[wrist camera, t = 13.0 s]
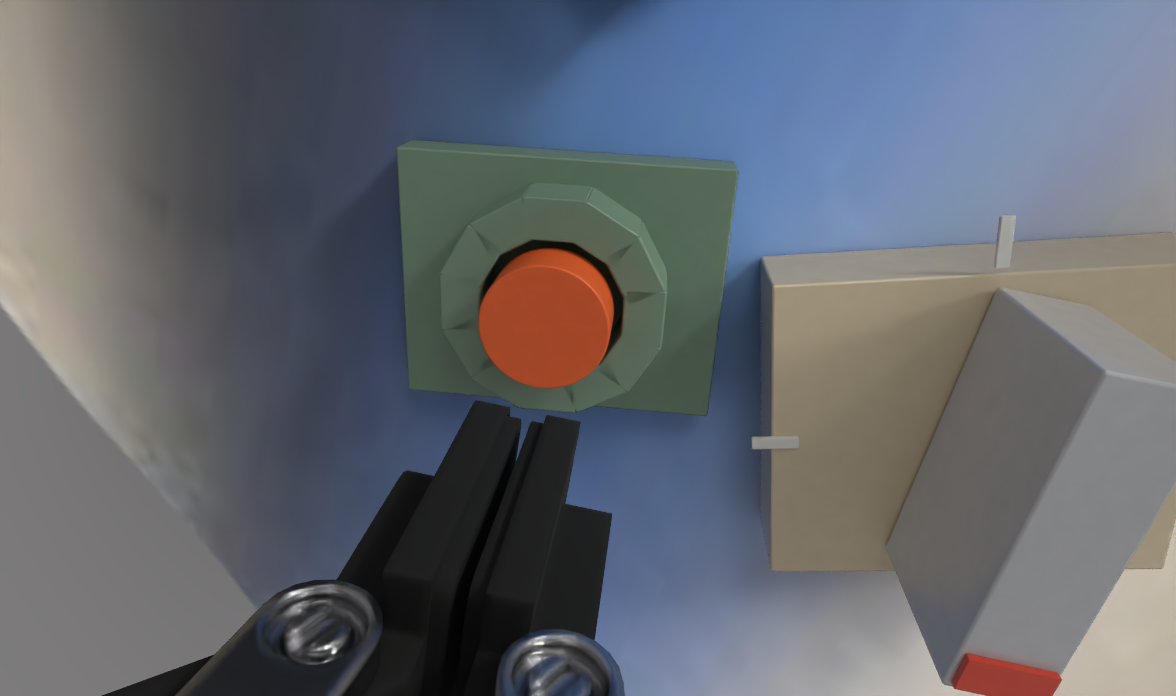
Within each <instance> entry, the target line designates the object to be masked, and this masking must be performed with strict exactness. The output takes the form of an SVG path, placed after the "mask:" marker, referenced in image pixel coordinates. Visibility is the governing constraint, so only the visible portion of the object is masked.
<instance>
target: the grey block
mask: <svg viewBox="0 0 1176 696" xmlns="http://www.w3.org/2000/svg"><path fill="white" fill-rule="evenodd" d="M1175 485H1176V362H1175V361H1173V360H1172V359H1170V358H1169V357H1167V356H1166V355H1164V354H1163V353H1161V352H1160V351H1158V350H1157V349H1155V348H1154V347H1152V346H1151V345H1149V344H1148V343H1146V342H1144V341H1143V340H1141V339H1140V338H1138V337H1137V336H1135V335H1134V334H1132V333H1131V332H1129V331H1128V330H1126V329H1125V328H1123V327H1122V326H1120V325H1119V324H1117V323H1116V322H1114V321H1113V320H1111V319H1110V318H1108V317H1107V316H1105V315H1104V314H1102V313H1101V312H1099V311H1098V310H1096V309H1095V308H1093V307H1092V306H1090V305H1085V304H1081V303H1076V302H1071V301H1066V300H1061V299H1056V298H1051V297H1046V296H1041V295H1037V294H1032V293H1027V292H1022V291H1017V290H1012V289H1007V288H1002V287H1001V288H998V289H997V290H996V292H995V295H994V297H993V299H992V302H991V304H990V306H989V309H988V311H987V313H986V316H985V318H984V320H983V323H982V325H981V327H980V330H979V332H978V334H977V336H976V339H975V341H974V343H973V346H972V348H971V350H970V353H969V355H968V357H967V360H966V362H965V364H964V367H963V369H962V371H961V374H960V376H959V378H958V381H957V383H956V385H955V387H954V390H953V392H952V394H951V397H950V399H949V401H948V404H947V406H946V408H945V411H944V413H943V415H942V418H941V420H940V422H939V425H938V427H937V429H936V432H935V434H934V436H933V439H932V441H931V443H930V445H929V448H928V450H927V452H926V455H925V457H924V459H923V462H922V464H921V466H920V469H919V471H918V473H917V476H916V478H915V480H914V483H913V485H912V487H911V490H910V492H909V494H908V496H907V499H906V501H905V503H904V506H903V508H902V510H901V513H900V515H899V517H898V520H897V522H896V524H895V527H894V529H893V531H892V534H891V536H890V538H889V541H888V543H887V545H886V550H887V552H888V554H889V557H890V559H891V562H892V564H893V566H894V569H895V571H896V574H897V576H898V578H899V581H900V583H901V586H902V588H903V590H904V593H905V595H906V598H907V600H908V602H909V605H910V607H911V610H912V612H913V614H914V617H915V619H916V622H917V624H918V626H919V629H920V631H921V634H922V636H923V638H924V641H925V643H926V646H927V648H928V650H929V653H930V655H931V658H932V660H933V662H934V665H935V667H936V670H937V672H938V674H939V677H940V679H941V681H942V683H943V684H945V685H948V686H953V687H954V689H958V690H962V691H967V692H972V693H976V694H981V695H986V696H1053V694H1054V692H1055V691H1056V689H1057V687H1058V686H1059V684H1060V682H1061V681H1062V679H1061V677H1060V675H1061V674H1062V672H1063V670H1064V669H1065V667H1066V665H1067V664H1068V662H1069V660H1070V659H1071V657H1072V655H1073V654H1074V652H1075V650H1076V649H1077V647H1078V646H1079V644H1080V642H1081V641H1082V639H1083V637H1084V636H1085V634H1086V632H1087V631H1088V629H1089V627H1090V626H1091V624H1092V622H1093V621H1094V619H1095V617H1096V616H1097V614H1098V612H1099V611H1100V609H1101V607H1102V606H1103V604H1104V602H1105V601H1106V599H1107V598H1108V596H1109V594H1110V593H1111V591H1112V589H1113V588H1114V586H1115V584H1116V583H1117V581H1118V579H1119V578H1120V576H1121V574H1122V573H1123V571H1124V569H1125V568H1126V566H1127V564H1128V563H1129V561H1130V559H1131V558H1132V556H1133V554H1134V553H1135V551H1136V549H1137V548H1138V546H1139V545H1140V543H1141V541H1142V540H1143V538H1144V536H1145V535H1146V533H1147V531H1148V530H1149V528H1150V526H1151V525H1152V523H1153V521H1154V520H1155V518H1156V516H1157V515H1158V513H1159V511H1160V510H1161V508H1162V506H1163V505H1164V503H1165V501H1166V500H1167V498H1168V497H1169V495H1170V493H1171V492H1172V490H1173V488H1174V487H1175Z"/></svg>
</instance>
